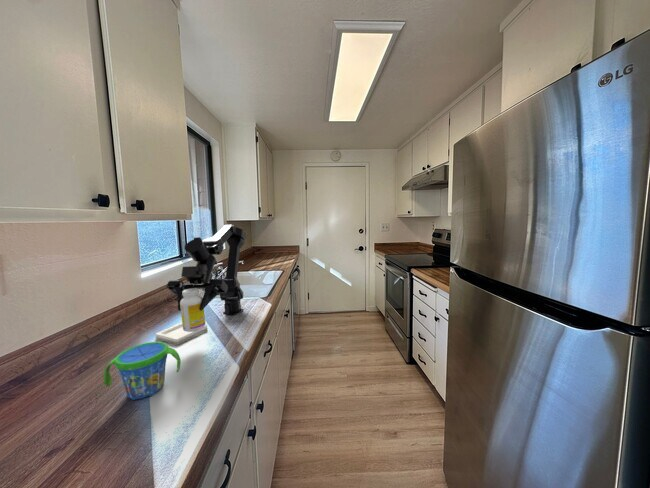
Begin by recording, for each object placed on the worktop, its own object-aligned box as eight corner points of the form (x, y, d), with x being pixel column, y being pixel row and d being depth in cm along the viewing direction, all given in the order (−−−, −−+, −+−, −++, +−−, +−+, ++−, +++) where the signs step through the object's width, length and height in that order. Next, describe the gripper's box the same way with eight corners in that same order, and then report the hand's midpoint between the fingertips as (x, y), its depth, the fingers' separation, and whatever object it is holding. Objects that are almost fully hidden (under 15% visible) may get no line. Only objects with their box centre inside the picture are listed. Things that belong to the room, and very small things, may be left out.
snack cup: (187, 372, 69) (184, 337, 68) (173, 398, 59) (169, 357, 58) (122, 382, 66) (117, 346, 65) (96, 412, 56) (89, 369, 54)
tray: (186, 325, 101) (186, 320, 101) (207, 330, 96) (207, 325, 95) (156, 339, 90) (155, 333, 90) (177, 345, 85) (176, 339, 85)
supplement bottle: (209, 324, 85) (206, 287, 83) (196, 333, 78) (192, 293, 77) (192, 323, 86) (188, 287, 85) (178, 332, 80) (173, 293, 78)
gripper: (166, 257, 84) (146, 300, 74) (221, 255, 83) (208, 298, 73) (182, 274, 92) (166, 314, 83) (232, 272, 92) (222, 313, 82)
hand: (190, 310), depth 80 cm, fingers closed on supplement bottle, 7 cm apart
